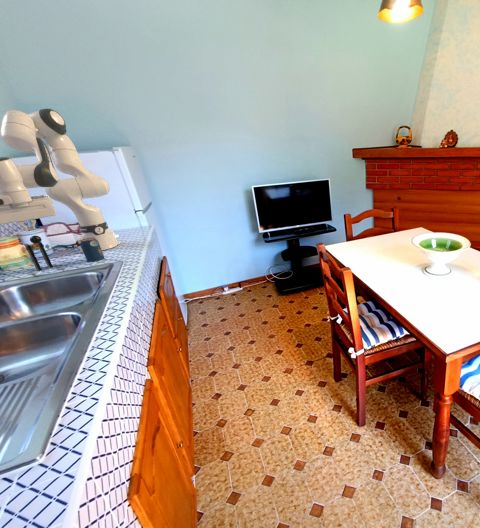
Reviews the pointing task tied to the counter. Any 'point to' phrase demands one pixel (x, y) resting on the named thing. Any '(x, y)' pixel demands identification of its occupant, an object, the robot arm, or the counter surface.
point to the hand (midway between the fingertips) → (31, 230)
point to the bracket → (35, 257)
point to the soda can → (91, 249)
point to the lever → (35, 242)
